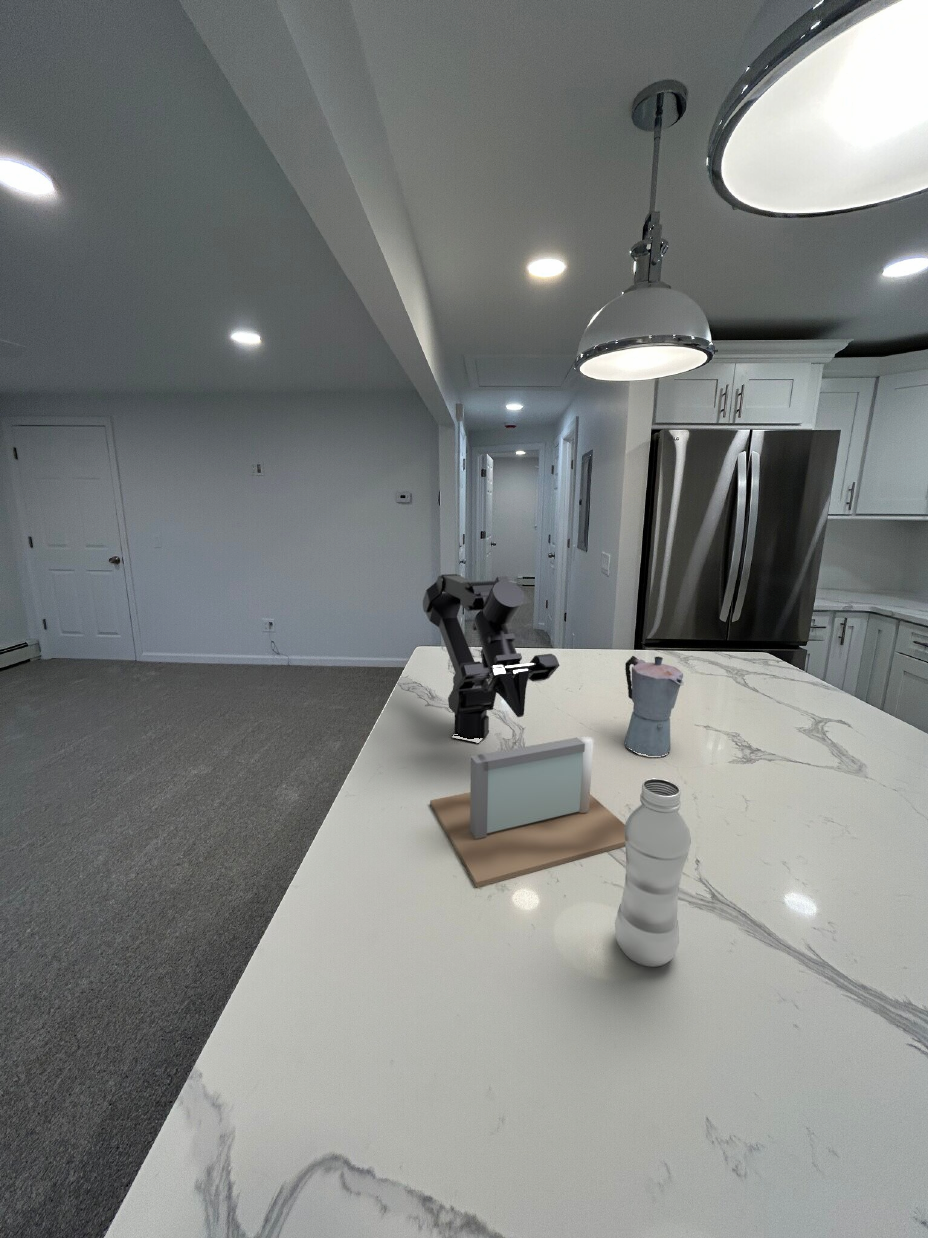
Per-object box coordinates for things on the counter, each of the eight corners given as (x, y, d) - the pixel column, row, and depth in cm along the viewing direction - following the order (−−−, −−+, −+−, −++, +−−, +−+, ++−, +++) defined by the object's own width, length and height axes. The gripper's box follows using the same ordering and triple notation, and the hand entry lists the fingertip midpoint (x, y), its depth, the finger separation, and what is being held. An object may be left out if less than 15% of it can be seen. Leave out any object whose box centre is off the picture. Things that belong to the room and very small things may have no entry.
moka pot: (658, 769, 95) (667, 668, 91) (601, 737, 108) (607, 648, 104) (692, 759, 99) (703, 662, 95) (633, 729, 113) (640, 643, 108)
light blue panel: (583, 803, 82) (588, 735, 79) (591, 811, 80) (596, 741, 77) (469, 830, 75) (470, 756, 72) (475, 839, 73) (476, 763, 70)
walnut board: (430, 804, 83) (430, 800, 83) (565, 776, 92) (565, 772, 92) (476, 888, 65) (476, 882, 65) (639, 842, 74) (639, 837, 74)
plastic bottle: (604, 928, 59) (617, 772, 54) (660, 925, 59) (677, 770, 55) (626, 979, 52) (642, 806, 48) (688, 974, 53) (710, 803, 49)
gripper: (524, 654, 103) (550, 726, 95) (437, 663, 96) (457, 741, 88) (545, 625, 94) (575, 701, 86) (451, 633, 87) (475, 716, 79)
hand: (520, 716), depth 85 cm, fingers closed
